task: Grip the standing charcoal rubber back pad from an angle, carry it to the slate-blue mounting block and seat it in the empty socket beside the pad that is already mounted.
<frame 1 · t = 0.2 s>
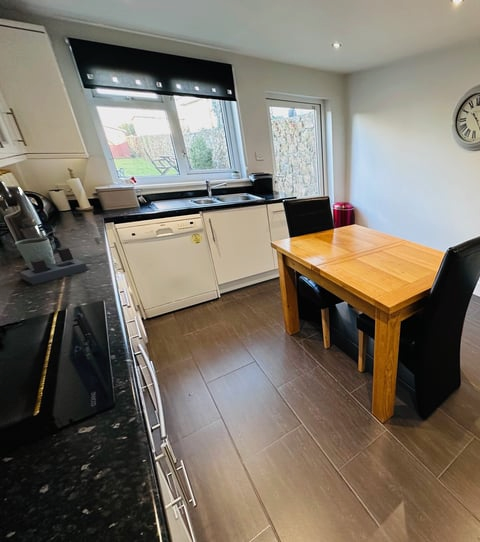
back pad: (69, 264, 132), on the worktop
mounted pad: (45, 277, 118), resting in pad mount
pad mount: (57, 274, 121), on the worktop
drinking glass: (43, 265, 130), on the worktop
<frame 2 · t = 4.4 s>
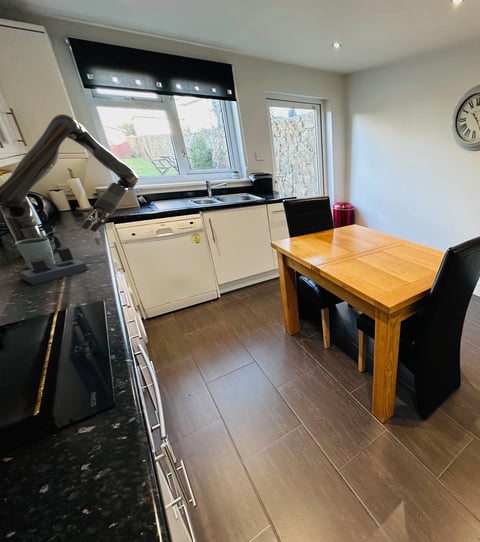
hand: (88, 229, 135), 14 cm above the worktop, tool tilted 45°, fingers open, 8 cm apart
nothing on the worktop moved.
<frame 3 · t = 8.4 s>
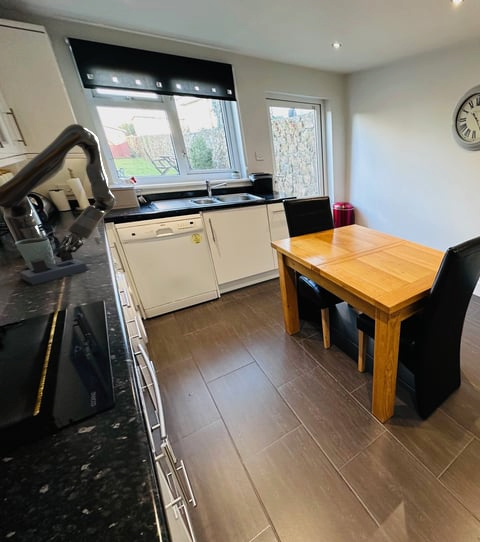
hand: (60, 257, 129), 4 cm above the worktop, tool tilted 45°, fingers closed on back pad, 4 cm apart
back pad: (69, 264, 132), on the worktop, touching gripper
everything else where it was.
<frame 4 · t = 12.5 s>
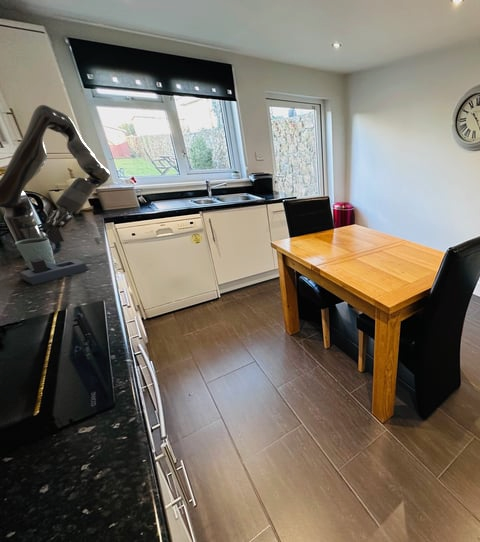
hand: (47, 233, 117), 17 cm above the worktop, tool tilted 45°, fingers closed on back pad, 4 cm apart
back pad: (57, 241, 121), point 13 cm above the worktop, touching gripper
everything else where it was.
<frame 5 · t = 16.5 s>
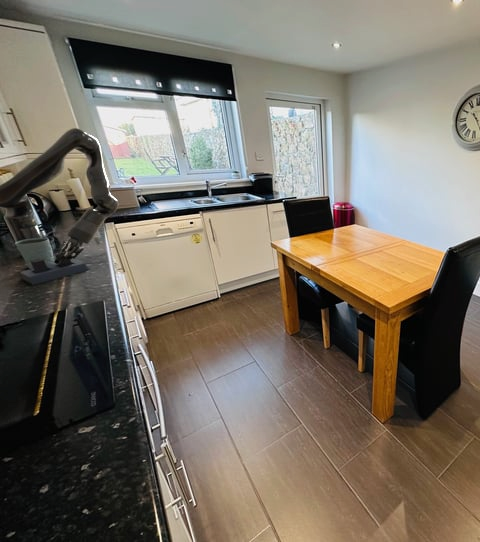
hand: (59, 264, 121), 4 cm above the worktop, tool tilted 45°, fingers closed on back pad, 4 cm apart
back pad: (68, 271, 125), resting in pad mount, touching gripper
everything else where it was.
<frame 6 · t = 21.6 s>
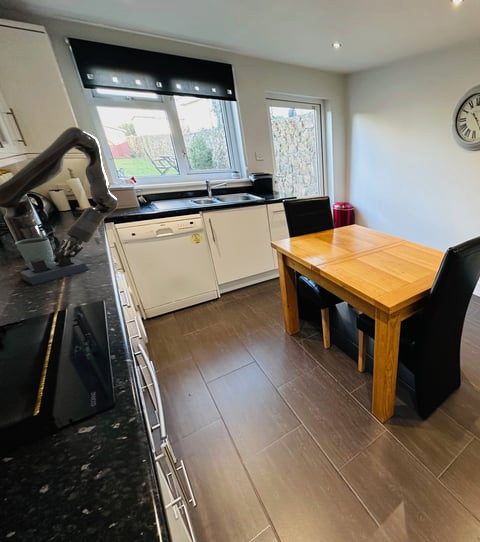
hand: (58, 263, 121), 5 cm above the worktop, tool tilted 45°, fingers closed on back pad, 4 cm apart
back pad: (68, 270, 124), point 1 cm above the worktop, touching gripper
everything else where it was.
when the fingers open (6 cm above the worktop, at t = 26.3 s): back pad drops 2 cm, resting in pad mount.
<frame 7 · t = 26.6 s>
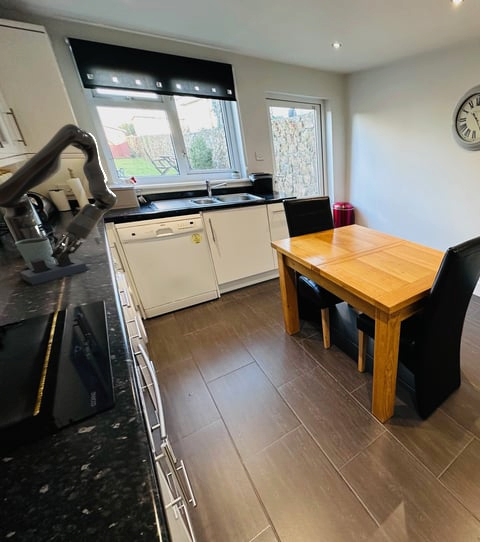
hand: (57, 258, 120), 7 cm above the worktop, tool tilted 45°, fingers open, 6 cm apart
back pad: (68, 271, 124), resting in pad mount
everything else where it was.
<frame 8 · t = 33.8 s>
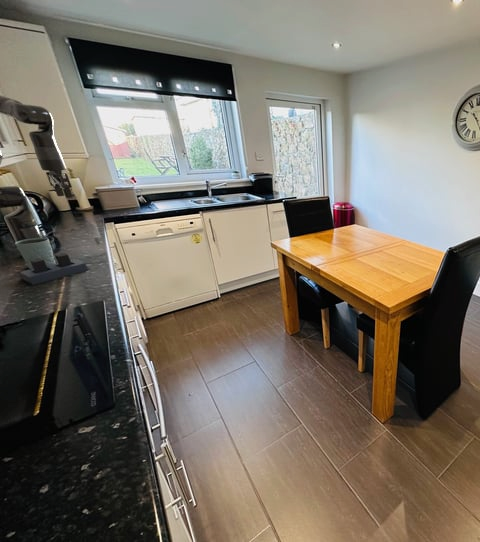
hand: (65, 196, 127), 30 cm above the worktop, tool pointing down, fingers open, 8 cm apart
nothing on the worktop moved.
at the end: back pad 0.0 cm from the target spot in the pad mount, point 0.0 cm above the pad mount's base; back pad tilted 0°; the gripper is holding nothing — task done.
